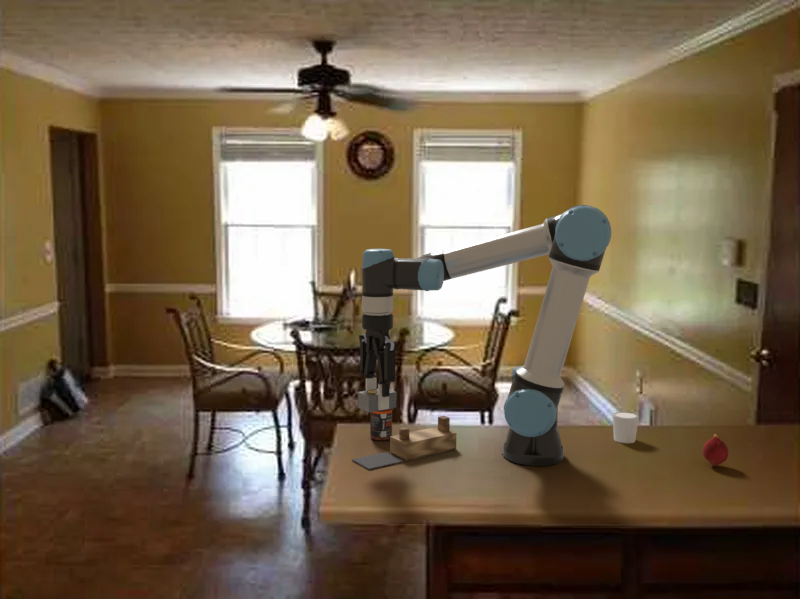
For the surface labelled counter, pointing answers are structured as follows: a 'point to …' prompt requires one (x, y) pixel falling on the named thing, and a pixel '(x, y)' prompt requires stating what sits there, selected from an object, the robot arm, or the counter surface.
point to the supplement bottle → (381, 424)
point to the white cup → (625, 427)
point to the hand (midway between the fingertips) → (377, 406)
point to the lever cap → (374, 400)
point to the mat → (377, 460)
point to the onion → (715, 451)
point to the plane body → (423, 441)
